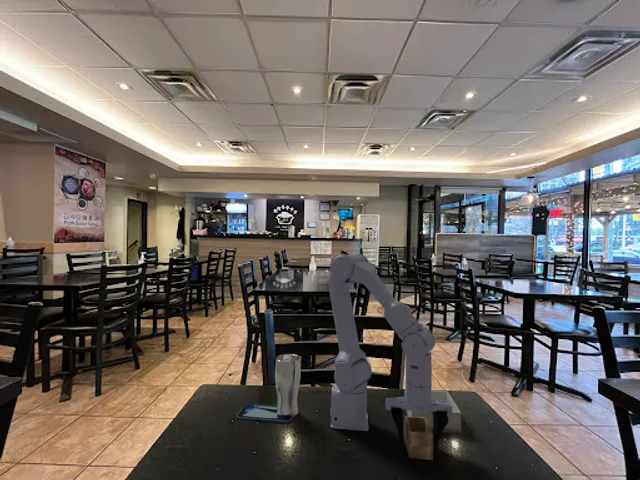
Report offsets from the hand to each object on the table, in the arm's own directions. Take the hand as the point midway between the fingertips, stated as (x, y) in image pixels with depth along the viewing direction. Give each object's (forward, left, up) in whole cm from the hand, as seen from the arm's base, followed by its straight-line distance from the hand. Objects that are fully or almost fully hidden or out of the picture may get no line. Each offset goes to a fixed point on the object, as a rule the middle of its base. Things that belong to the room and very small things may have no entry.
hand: (417, 442), depth 72 cm
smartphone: (-39, +10, -2) cm, 40 cm away
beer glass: (-33, +11, -2) cm, 35 cm away
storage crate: (+6, +14, -1) cm, 15 cm away
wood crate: (0, 0, -1) cm, 1 cm away
